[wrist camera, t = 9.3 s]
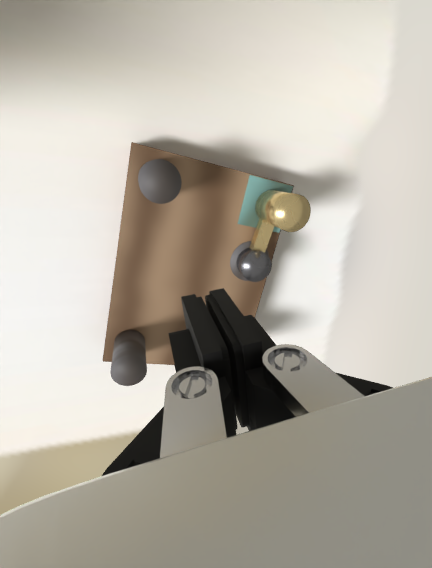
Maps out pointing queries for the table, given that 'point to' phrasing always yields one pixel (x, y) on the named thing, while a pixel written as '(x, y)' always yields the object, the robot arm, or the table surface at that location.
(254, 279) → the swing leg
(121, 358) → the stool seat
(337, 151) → the table surface
